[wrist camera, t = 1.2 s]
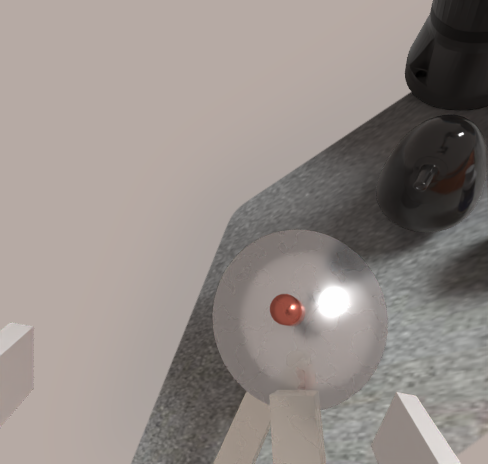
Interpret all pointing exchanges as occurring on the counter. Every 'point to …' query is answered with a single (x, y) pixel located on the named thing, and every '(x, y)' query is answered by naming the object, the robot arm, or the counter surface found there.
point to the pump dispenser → (434, 175)
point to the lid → (299, 332)
